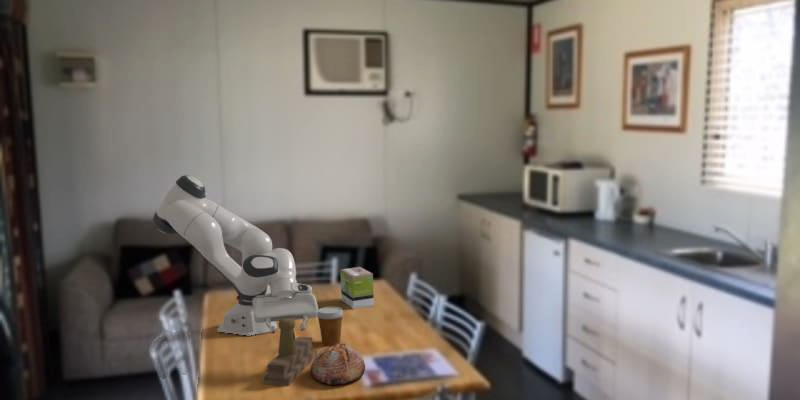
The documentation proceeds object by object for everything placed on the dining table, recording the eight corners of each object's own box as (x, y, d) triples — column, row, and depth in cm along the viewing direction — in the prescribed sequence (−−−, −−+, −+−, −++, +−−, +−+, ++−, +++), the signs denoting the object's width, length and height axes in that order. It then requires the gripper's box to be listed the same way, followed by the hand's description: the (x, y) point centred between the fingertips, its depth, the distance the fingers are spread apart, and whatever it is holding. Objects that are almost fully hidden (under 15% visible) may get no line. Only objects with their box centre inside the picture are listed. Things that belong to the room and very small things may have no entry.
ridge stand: (288, 385, 192) (288, 366, 191) (263, 383, 194) (262, 364, 193) (316, 355, 217) (316, 337, 217) (294, 354, 219) (293, 336, 218)
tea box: (340, 301, 285) (339, 268, 283) (361, 298, 289) (360, 266, 288) (352, 309, 271) (351, 275, 270) (374, 306, 276) (373, 272, 274)
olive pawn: (293, 356, 199) (292, 322, 198) (275, 355, 201) (273, 321, 200) (300, 349, 205) (299, 316, 204) (283, 348, 207) (281, 315, 205)
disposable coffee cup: (348, 339, 233) (347, 307, 232) (338, 348, 224) (337, 314, 223) (324, 337, 236) (323, 305, 235) (313, 345, 227) (312, 312, 226)
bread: (355, 363, 212) (356, 334, 211) (371, 385, 193) (372, 353, 192) (305, 367, 207) (306, 337, 206) (317, 390, 188) (318, 357, 187)
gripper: (251, 290, 205) (253, 329, 197) (315, 285, 210) (320, 323, 201) (252, 300, 210) (254, 339, 202) (314, 295, 215) (319, 332, 206)
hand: (287, 331), depth 202 cm, fingers open, 8 cm apart
